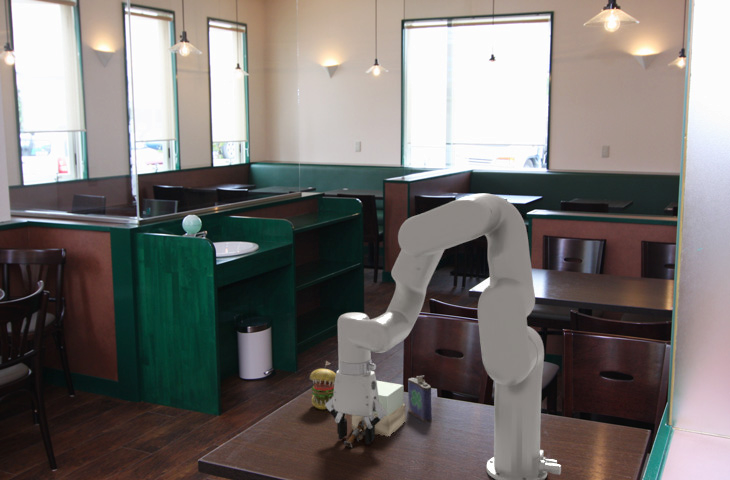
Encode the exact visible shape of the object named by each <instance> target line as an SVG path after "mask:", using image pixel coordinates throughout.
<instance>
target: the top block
mask: <svg viewBox="0 0 730 480" xmlns="http://www.w3.org/2000/svg"><path fill="white" fill-rule="evenodd" d="M376 381H377V387H378V397H379V403H380V405H381V406H382V407H383V408H384V409H385V410H386V412H387V415H386V416H389V415H390V414H391V413H393V412H394V411H395V410H397V409H398V408H399V407H401V406H402V405H403V404H405V402H404V401H405V400H404V398H405V397H404V393H405V392H404V391H405V390H404V384H400V383H393V382H387V381H382V380H381V381H380V380H376ZM373 414H377V415H378V412H377V411H373Z"/></svg>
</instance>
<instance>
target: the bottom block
mask: <svg viewBox="0 0 730 480" xmlns="http://www.w3.org/2000/svg"><path fill="white" fill-rule="evenodd" d="M374 416H375V418H376V417H377V416H378V415H377V414H374ZM360 420H364V417H362V416H356V415H351V428H352V429H353V430H352V429H351V430H352V431H354V430H355V428H357V426H358V424H359V422H360ZM364 421H365V420H364ZM404 422H405V423H406V403H404V404H403V405H402V406H401V407H399V408H398V409H397V410H395V411H394V412H393V413H391V414H390V415H389V416H384V417H383V418H382V419H381V420H380V421H379V422H378V423H377V424H376V425H375V435H378V434H380V435H379V436H383V435H385V437H388V436H389V437H390V436H392V435H393V434H394V433H395V432H396V431H397V430H399V428H400V427H401V426H403V425H404V424H405V423H404ZM364 423H365V424H364V425H363V426H364V428H365V429H366V428H367V424H366V422H364ZM403 423H404V424H403ZM361 431H362V430H360V432H361ZM393 432H394V433H393ZM392 433H393V434H392ZM391 434H392V435H391Z"/></svg>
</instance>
